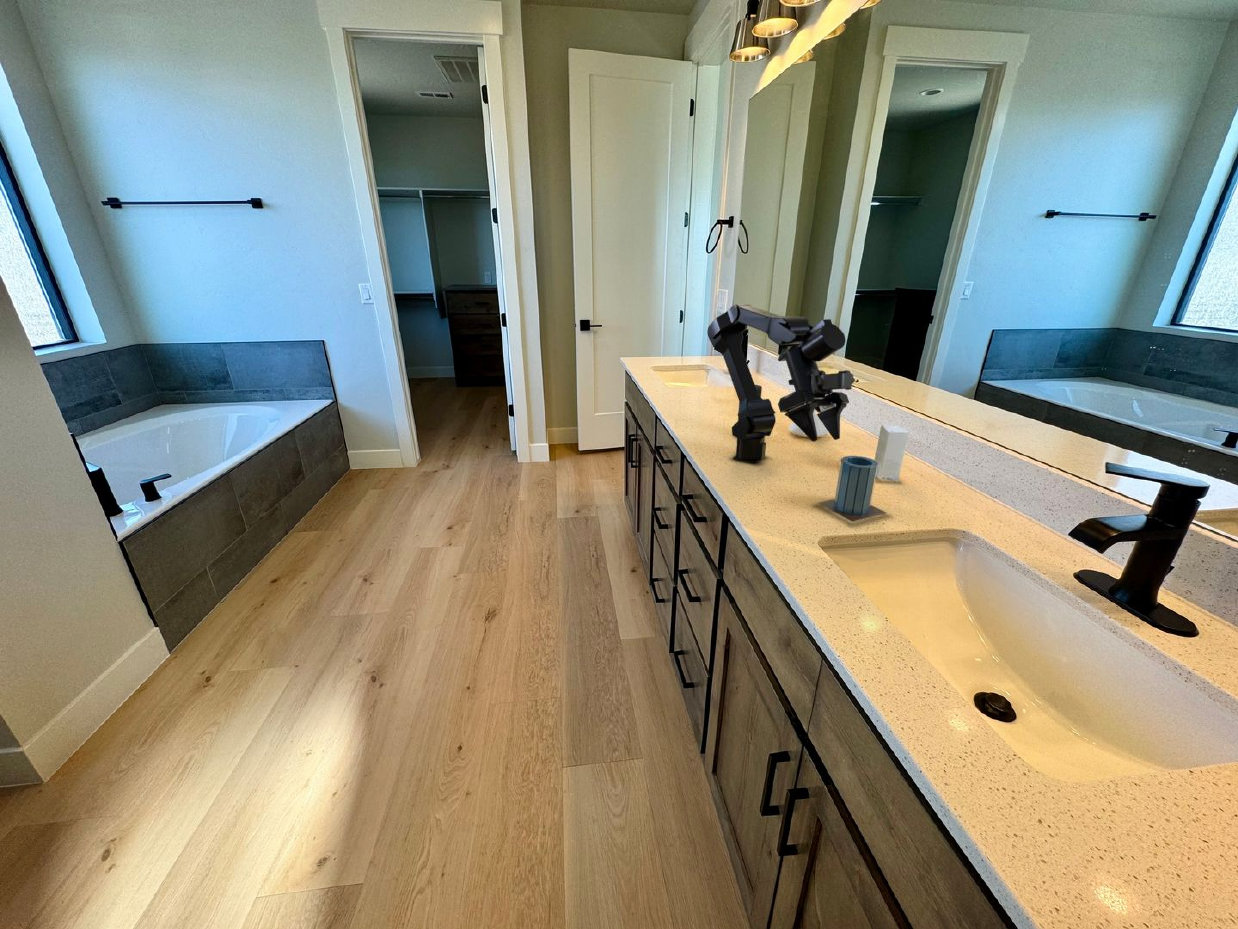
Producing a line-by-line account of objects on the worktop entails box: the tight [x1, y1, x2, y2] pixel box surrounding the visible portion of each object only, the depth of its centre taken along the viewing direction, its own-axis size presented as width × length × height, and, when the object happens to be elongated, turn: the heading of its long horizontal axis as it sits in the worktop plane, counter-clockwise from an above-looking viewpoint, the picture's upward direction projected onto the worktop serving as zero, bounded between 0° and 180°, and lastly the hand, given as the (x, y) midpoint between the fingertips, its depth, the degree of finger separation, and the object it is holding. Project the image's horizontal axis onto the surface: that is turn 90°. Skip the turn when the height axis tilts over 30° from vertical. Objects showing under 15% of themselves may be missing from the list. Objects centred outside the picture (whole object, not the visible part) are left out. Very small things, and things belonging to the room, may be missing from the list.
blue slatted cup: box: [834, 455, 878, 515], centre depth 97 cm, size 6×6×10 cm
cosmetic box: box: [874, 424, 909, 483], centre depth 113 cm, size 6×4×12 cm
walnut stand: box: [817, 498, 887, 523], centre depth 98 cm, size 9×9×6 cm
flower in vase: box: [788, 409, 830, 438], centre depth 141 cm, size 13×11×25 cm
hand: (826, 440), depth 103 cm, fingers open, 9 cm apart
